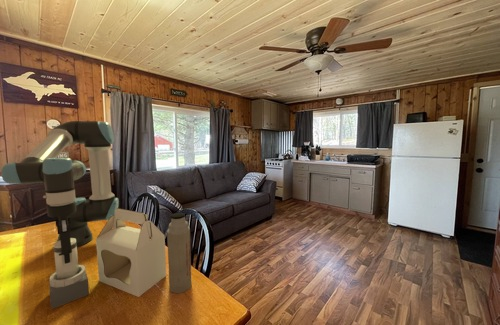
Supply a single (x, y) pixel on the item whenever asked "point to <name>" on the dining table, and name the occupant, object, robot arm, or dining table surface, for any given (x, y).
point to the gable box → (131, 253)
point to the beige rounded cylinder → (59, 260)
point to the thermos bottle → (179, 254)
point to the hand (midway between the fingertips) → (67, 266)
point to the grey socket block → (68, 288)
